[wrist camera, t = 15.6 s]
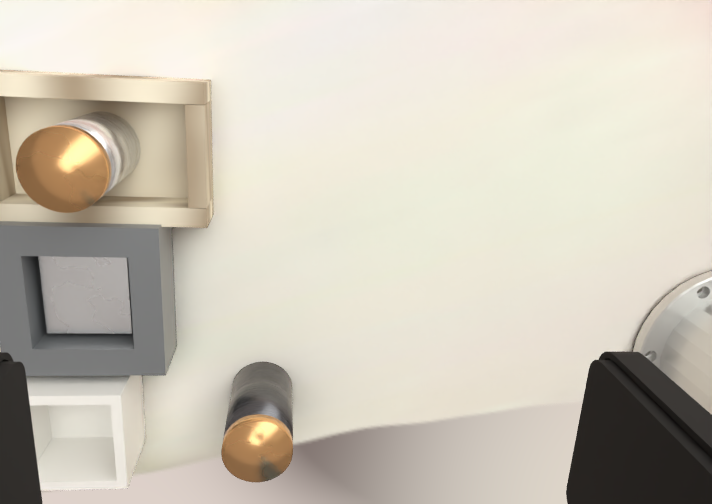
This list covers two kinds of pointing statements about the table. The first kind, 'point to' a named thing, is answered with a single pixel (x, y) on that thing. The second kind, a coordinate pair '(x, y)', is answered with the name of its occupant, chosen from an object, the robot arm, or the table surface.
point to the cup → (87, 430)
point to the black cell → (259, 423)
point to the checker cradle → (88, 350)
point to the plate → (86, 294)
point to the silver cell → (77, 160)
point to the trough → (155, 133)
